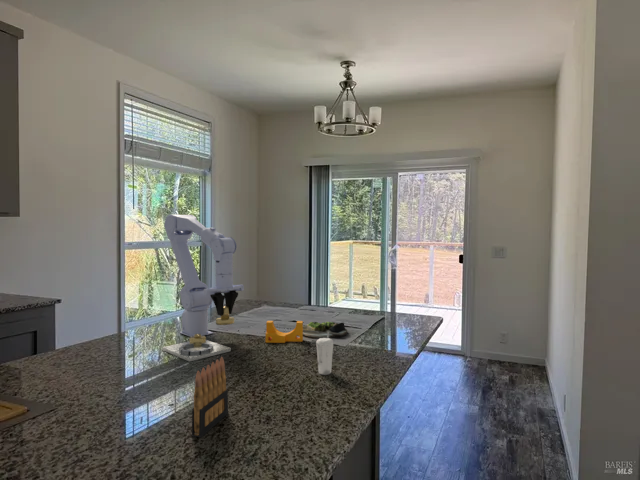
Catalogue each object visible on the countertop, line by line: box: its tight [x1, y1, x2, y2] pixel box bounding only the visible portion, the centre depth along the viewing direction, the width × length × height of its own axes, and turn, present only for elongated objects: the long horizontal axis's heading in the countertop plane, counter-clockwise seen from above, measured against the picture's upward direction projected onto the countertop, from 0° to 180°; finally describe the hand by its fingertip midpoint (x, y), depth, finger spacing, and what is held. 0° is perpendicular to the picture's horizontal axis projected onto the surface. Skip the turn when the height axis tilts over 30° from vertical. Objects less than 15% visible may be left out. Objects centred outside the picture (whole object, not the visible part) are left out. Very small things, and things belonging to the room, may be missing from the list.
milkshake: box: [315, 332, 335, 376], centre depth 113 cm, size 5×5×10 cm
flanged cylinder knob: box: [215, 305, 235, 326], centre depth 144 cm, size 6×6×6 cm
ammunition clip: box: [191, 356, 229, 438], centre depth 84 cm, size 11×2×12 cm, turn 164°
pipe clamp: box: [264, 320, 304, 344], centre depth 144 cm, size 12×4×6 cm, turn 87°
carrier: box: [162, 334, 232, 363], centre depth 133 cm, size 16×14×4 cm
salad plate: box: [303, 321, 348, 339], centre depth 155 cm, size 19×18×5 cm
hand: (224, 314), depth 144 cm, fingers closed on flanged cylinder knob, 3 cm apart
